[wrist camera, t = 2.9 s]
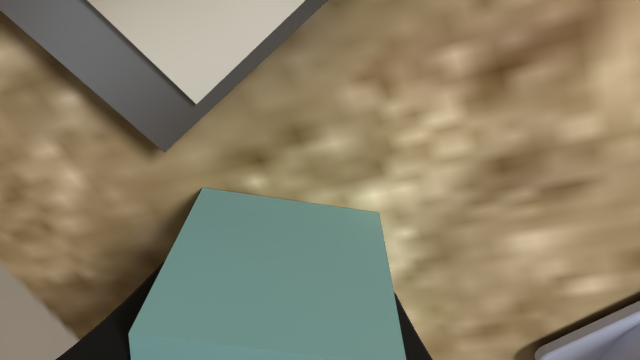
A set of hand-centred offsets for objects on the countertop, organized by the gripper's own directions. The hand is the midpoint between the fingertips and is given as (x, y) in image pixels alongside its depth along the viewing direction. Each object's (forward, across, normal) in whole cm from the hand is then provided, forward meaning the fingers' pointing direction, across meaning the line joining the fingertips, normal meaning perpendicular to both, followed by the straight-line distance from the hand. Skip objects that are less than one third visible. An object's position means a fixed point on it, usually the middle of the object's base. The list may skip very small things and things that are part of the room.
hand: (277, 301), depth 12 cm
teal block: (+1, 0, 0) cm, 1 cm away
